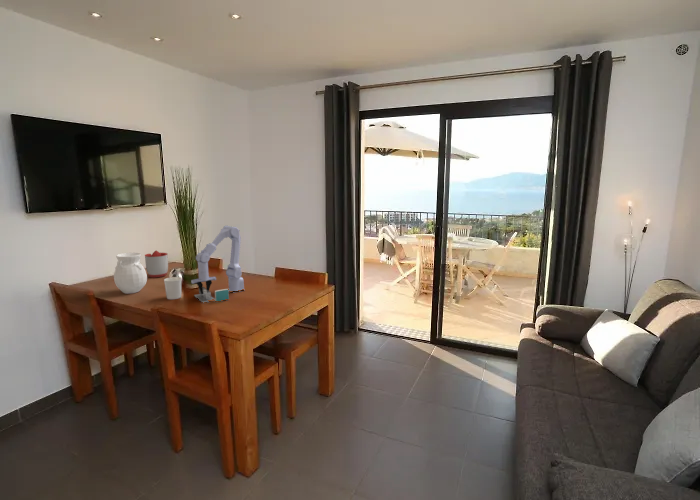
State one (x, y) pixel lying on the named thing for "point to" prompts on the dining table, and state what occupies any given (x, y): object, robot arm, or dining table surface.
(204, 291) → the two-tone grey bar
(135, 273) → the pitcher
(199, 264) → the robot arm
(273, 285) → the dining table surface
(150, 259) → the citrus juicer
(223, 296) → the tile
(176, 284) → the candle holder
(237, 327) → the dining table surface
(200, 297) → the mat
